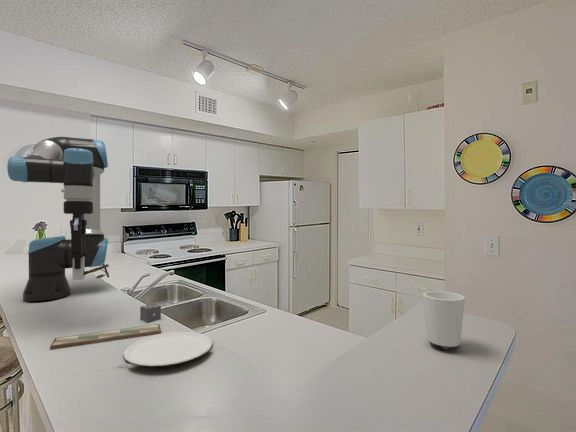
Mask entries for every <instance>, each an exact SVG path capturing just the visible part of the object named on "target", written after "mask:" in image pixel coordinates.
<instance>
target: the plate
mask: <svg viewBox="0 0 576 432" xmlns="http://www.w3.org/2000/svg"><path fill="white" fill-rule="evenodd" d="M212 346H213V340H212V339H211V337H209V336H208V335H206V334H204V333H201V332H194V331H193V332H192V331H171V332H163V333H160V334H153V335H149V336H147V337H144V338H142V339H138V340H136V341H135V342H133V343H132V344H130V345H128V347H127V348H126V349H125V350H124V352H123V357H124V360H125V361H126V362H128V363H129V364H131V365H134V366H139V367H147V368H155V367H156V368H158V367H168V366H175V365H181V364H183V363H184V364H185V363H188V362H191V361H194V360H196V359H198V358H200V357H202V356H203V355H206V354H207V353H208V352H209V351H210V350H211V349H212Z"/></svg>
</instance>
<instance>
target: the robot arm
mask: <svg viewBox="0 0 576 432" xmlns="http://www.w3.org/2000/svg"><path fill="white" fill-rule="evenodd" d="M107 156H108V155H107V149H106V144H105V142H104V141H103V140H98V139H93V138H82V137H81V138H79V137H72V136H71V137H69V136H55V137H48V138H45V139H43V140H40V141H38V142H37V143H36V144H35V145H34V146H33V149H32V151H31V152H30V153H29V154H27V155H26V156H11V157H8V159H7V176H8V177H9V179H10V180H11V181H13V182H21V183H45V184H47V183H50V184H63V189H60V190H61V191H60V192H61V193H63V199H64V200H65V201H63V214H65V215H70V214H71V215H72V219H70V220H69V227H70V235H71V236H70V239H67V238H66V236H64V235H60V236H51V237H45V238H44V237H43V238H39V239H33V240H31V241H30V242H29V244H28V252H27V254H28V279H27V281H26V285H25V288H24V289H23V293H22V300H24V301H27V302H28V301H29V302H38V301H39V302H40V301H48V300H55V299H60V298H64V297H67V296H70V295H71V286H70V284H69V281H68V278H67V277H66V269H72V281H81V280H84V279H85V277H86V275H84V272H85V268H96V267H101V266H103V264H106V256H107V249H108V242H109V239H108V238H106V237H105V233H104V232H102V231H101V175H103V174H104V173H105V169H106V168H107V169H108V168H109V164H108V157H107Z"/></svg>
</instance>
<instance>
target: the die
mask: <svg viewBox="0 0 576 432" xmlns="http://www.w3.org/2000/svg"><path fill="white" fill-rule="evenodd" d="M139 309H140V310H139V311H140V314H139V315H140V316H139V317H140V318H139V319H140V321H142V322H144V323H147V324H148V323H152V322H155V321H158V320H161V318H162V313H161V312H162V308H161V305H159V304H156V303H151V304H146V305H141V306H140V307H139Z"/></svg>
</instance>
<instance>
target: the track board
mask: <svg viewBox="0 0 576 432" xmlns="http://www.w3.org/2000/svg"><path fill="white" fill-rule="evenodd" d="M158 334H162V329H161V325H160V323H157V324H148V325H141V326H140V325H139V326H131V327H126V328H119V329H118V328H117V329H111V330H104V331H96V332H89V333H82V334H75V335H74V334H73V335H67V336H61V337H60V336H59V337H58V336H57V337H55V338H54V339H53V340H52V343H51V344H50V346H49V350H51V351H52V350H58V349H64V348H65V349H66V348H69V347H71V348H72V347H78V346H83V345H91V344H98V343H104V342H109V341H110V342H111V341H117V340H125V339H126V340H127V339H131V338H139V337H145V336H153V335H158Z"/></svg>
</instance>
